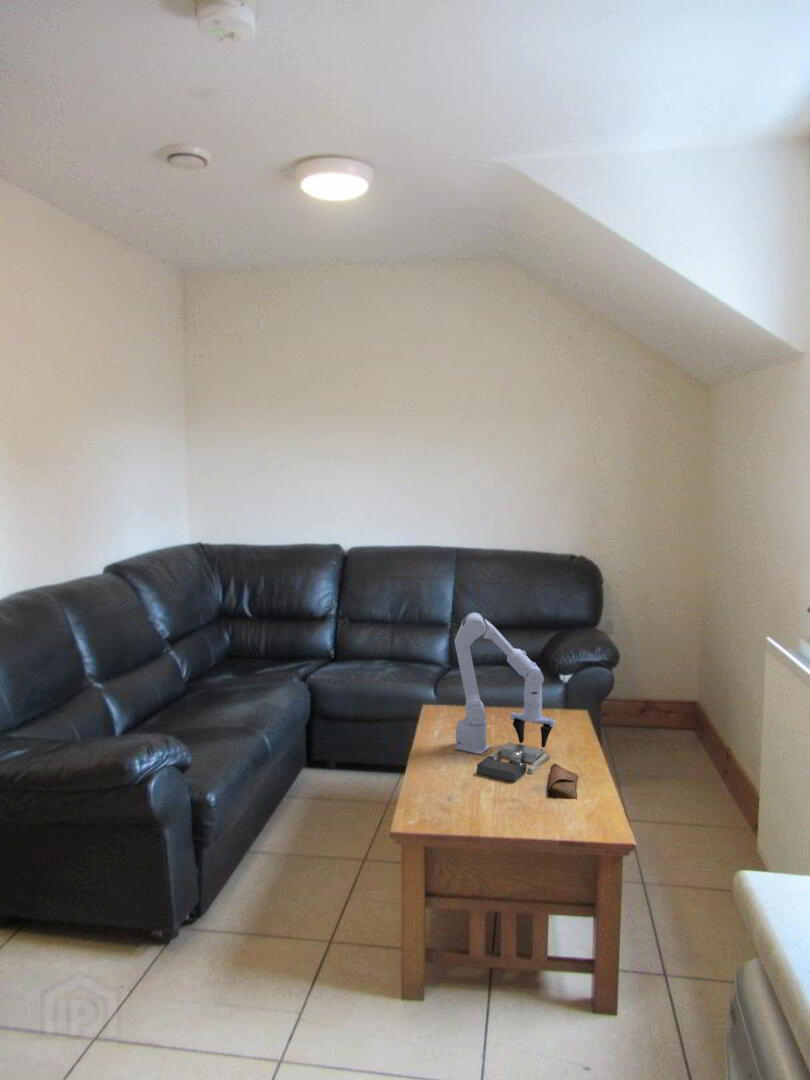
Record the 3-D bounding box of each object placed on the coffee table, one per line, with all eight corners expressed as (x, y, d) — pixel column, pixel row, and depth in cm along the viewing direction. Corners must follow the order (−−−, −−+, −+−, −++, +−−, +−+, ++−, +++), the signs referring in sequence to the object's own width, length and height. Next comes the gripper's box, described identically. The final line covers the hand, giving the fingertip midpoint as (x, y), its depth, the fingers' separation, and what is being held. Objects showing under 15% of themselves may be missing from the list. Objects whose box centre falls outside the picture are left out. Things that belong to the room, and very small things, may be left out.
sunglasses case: (579, 800, 208) (566, 778, 208) (556, 810, 210) (544, 789, 210) (579, 774, 226) (567, 755, 226) (558, 784, 227) (546, 765, 228)
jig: (484, 763, 235) (484, 758, 235) (503, 749, 247) (503, 744, 247) (532, 773, 226) (532, 769, 226) (549, 758, 238) (549, 754, 238)
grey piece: (496, 760, 238) (496, 750, 237) (508, 751, 245) (508, 741, 245) (532, 767, 231) (532, 757, 231) (543, 758, 239) (543, 748, 239)
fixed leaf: (477, 774, 226) (477, 763, 226) (490, 764, 234) (490, 754, 234) (514, 782, 220) (514, 772, 220) (526, 772, 228) (526, 762, 227)
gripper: (507, 703, 246) (506, 743, 247) (549, 710, 238) (549, 752, 239) (515, 697, 252) (515, 737, 253) (557, 704, 244) (557, 745, 245)
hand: (532, 744), depth 247 cm, fingers open, 7 cm apart
